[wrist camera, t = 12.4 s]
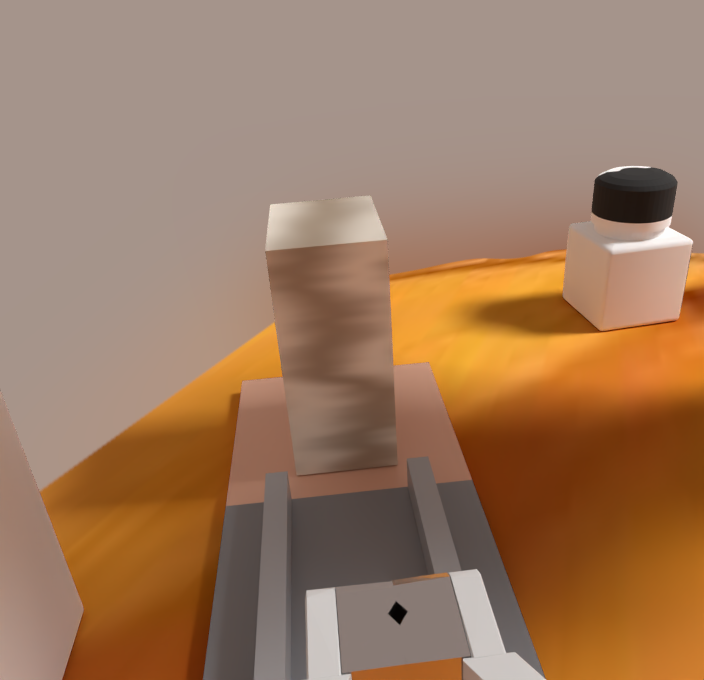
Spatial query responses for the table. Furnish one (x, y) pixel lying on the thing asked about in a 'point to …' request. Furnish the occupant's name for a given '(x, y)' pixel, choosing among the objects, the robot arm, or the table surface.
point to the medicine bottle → (628, 252)
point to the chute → (342, 530)
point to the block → (334, 332)
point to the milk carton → (31, 574)
